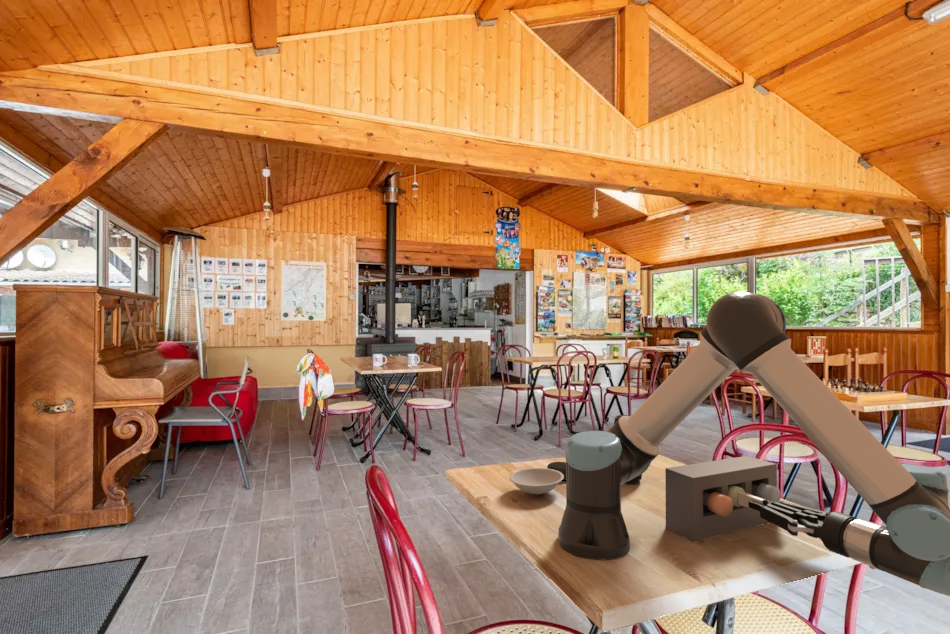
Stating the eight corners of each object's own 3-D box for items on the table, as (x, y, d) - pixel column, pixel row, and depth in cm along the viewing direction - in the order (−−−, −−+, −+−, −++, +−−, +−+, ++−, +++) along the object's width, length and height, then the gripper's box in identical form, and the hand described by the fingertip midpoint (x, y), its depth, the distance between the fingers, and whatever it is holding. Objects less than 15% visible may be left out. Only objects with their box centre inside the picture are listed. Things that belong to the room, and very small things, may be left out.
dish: (530, 481, 148) (530, 464, 148) (573, 490, 139) (573, 473, 139) (498, 497, 134) (498, 478, 134) (543, 509, 125) (543, 489, 125)
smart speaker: (578, 475, 154) (578, 463, 154) (571, 484, 146) (571, 470, 146) (551, 472, 158) (551, 459, 158) (543, 479, 150) (543, 466, 150)
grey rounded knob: (768, 507, 111) (768, 488, 111) (744, 498, 117) (744, 480, 117) (780, 504, 113) (780, 485, 113) (756, 496, 119) (756, 478, 119)
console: (693, 541, 106) (693, 477, 107) (665, 527, 114) (665, 468, 114) (777, 521, 118) (776, 463, 118) (747, 510, 125) (746, 455, 125)
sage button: (732, 508, 111) (732, 488, 111) (710, 499, 116) (710, 481, 116) (745, 505, 113) (745, 486, 113) (723, 497, 118) (723, 479, 118)
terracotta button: (719, 518, 105) (719, 498, 105) (696, 508, 110) (696, 489, 110) (733, 515, 107) (733, 495, 107) (710, 505, 112) (710, 486, 112)
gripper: (833, 565, 87) (720, 518, 109) (875, 552, 93) (759, 510, 114) (832, 523, 88) (720, 485, 109) (874, 512, 93) (759, 478, 114)
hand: (740, 498), depth 112 cm, fingers closed
